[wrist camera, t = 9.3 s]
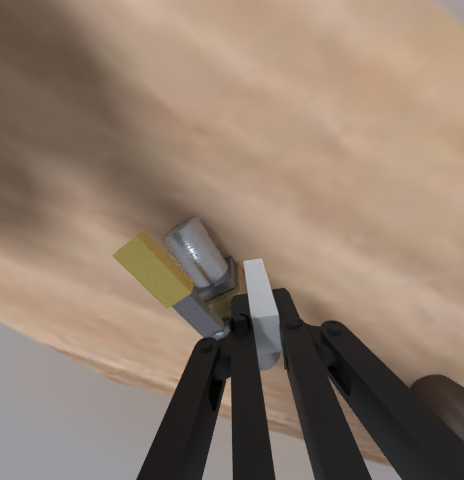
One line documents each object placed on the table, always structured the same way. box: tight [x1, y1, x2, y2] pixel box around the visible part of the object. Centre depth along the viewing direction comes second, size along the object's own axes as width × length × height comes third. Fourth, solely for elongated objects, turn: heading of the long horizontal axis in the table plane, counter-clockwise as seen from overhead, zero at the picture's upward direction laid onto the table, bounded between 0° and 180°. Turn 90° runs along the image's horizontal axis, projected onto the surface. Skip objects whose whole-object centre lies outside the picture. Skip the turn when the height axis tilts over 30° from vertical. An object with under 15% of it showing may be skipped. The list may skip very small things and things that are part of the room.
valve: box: [162, 216, 280, 370], centre depth 30 cm, size 24×7×9 cm, turn 29°
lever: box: [113, 231, 230, 340], centre depth 22 cm, size 17×4×2 cm, turn 36°
